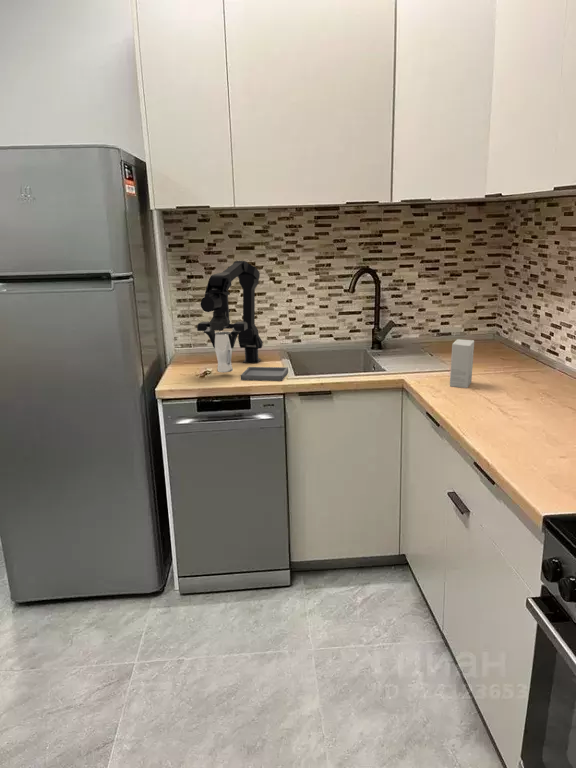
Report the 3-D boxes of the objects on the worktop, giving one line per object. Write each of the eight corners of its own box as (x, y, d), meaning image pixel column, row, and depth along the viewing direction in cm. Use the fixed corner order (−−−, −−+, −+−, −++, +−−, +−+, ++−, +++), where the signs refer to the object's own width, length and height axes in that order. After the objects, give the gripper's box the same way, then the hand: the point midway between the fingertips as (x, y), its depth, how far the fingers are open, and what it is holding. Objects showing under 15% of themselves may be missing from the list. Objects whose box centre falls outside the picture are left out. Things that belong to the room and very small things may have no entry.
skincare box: (454, 380, 215) (456, 338, 210) (473, 382, 212) (475, 340, 207) (449, 386, 207) (451, 343, 203) (468, 388, 204) (470, 344, 200)
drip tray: (249, 371, 237) (248, 366, 236) (288, 372, 234) (288, 367, 233) (240, 380, 224) (240, 375, 224) (282, 381, 221) (281, 375, 221)
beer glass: (230, 373, 227) (228, 334, 223) (213, 372, 229) (211, 334, 225) (236, 368, 234) (233, 331, 230) (219, 368, 235) (216, 331, 231)
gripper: (190, 311, 219) (193, 352, 223) (239, 311, 215) (241, 353, 219) (200, 307, 229) (203, 346, 233) (246, 306, 226) (248, 346, 230)
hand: (223, 348), depth 229 cm, fingers closed on beer glass, 7 cm apart
